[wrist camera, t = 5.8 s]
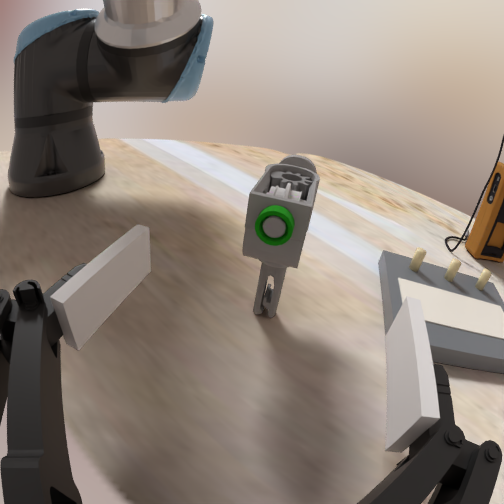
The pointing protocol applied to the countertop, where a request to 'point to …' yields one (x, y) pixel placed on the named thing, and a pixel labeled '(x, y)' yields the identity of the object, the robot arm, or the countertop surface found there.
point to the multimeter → (488, 220)
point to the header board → (448, 309)
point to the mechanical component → (279, 223)
